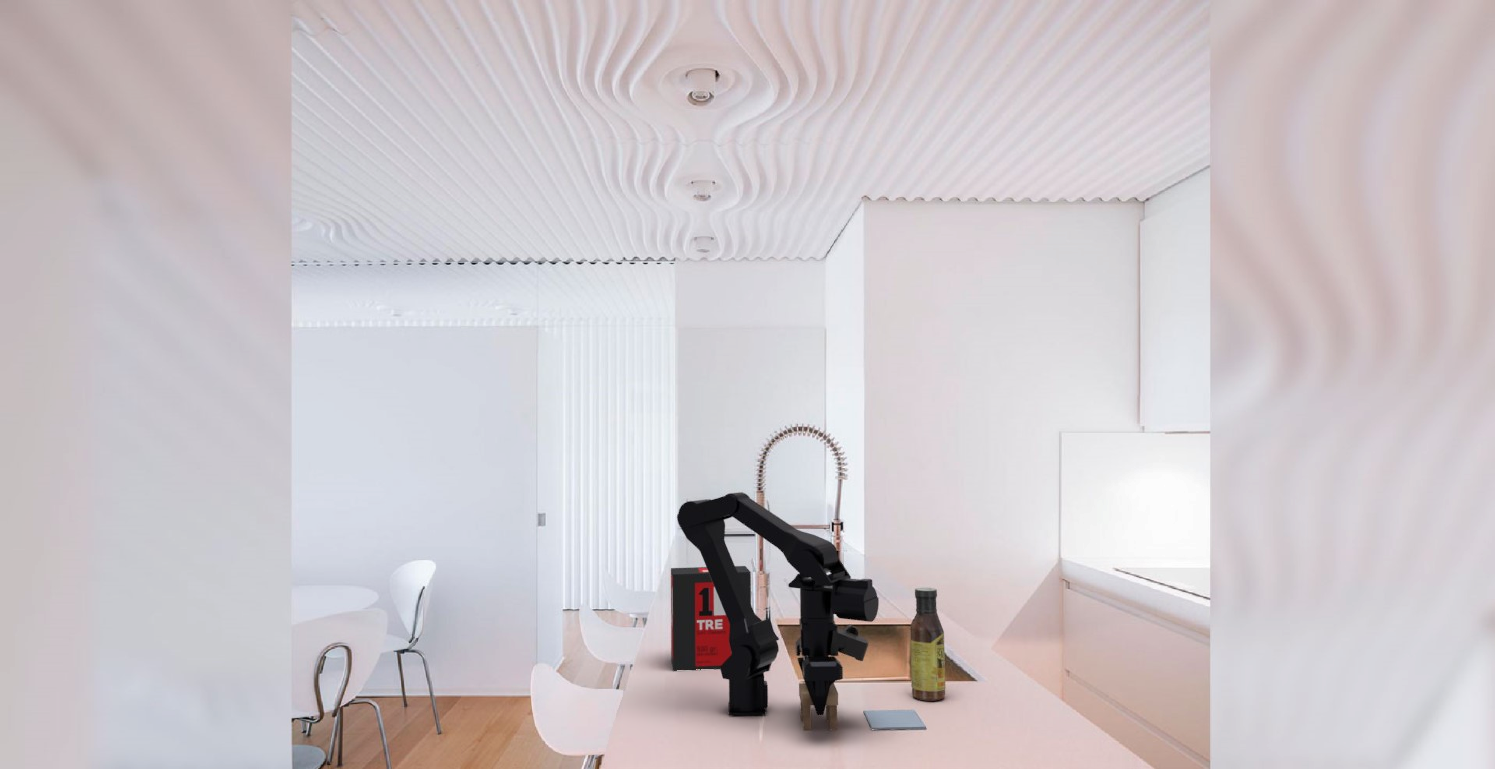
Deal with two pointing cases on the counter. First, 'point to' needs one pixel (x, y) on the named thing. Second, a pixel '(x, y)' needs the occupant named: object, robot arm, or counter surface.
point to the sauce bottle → (927, 648)
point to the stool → (807, 703)
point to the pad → (894, 719)
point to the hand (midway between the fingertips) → (818, 709)
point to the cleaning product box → (699, 619)
